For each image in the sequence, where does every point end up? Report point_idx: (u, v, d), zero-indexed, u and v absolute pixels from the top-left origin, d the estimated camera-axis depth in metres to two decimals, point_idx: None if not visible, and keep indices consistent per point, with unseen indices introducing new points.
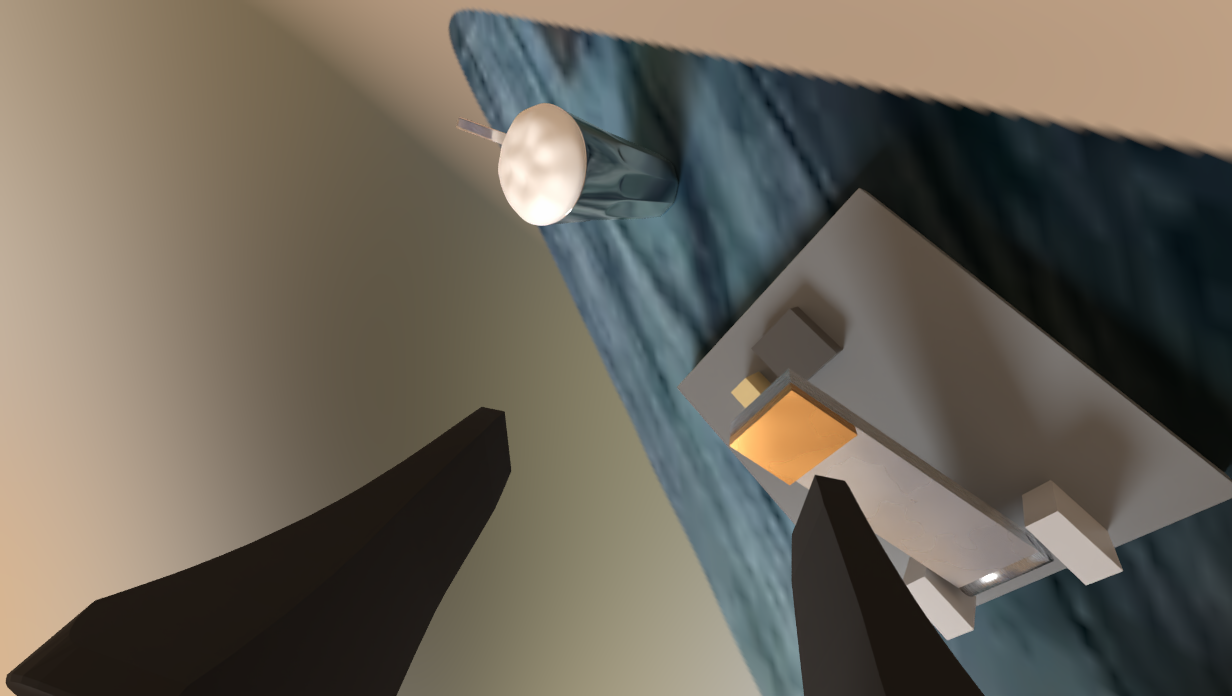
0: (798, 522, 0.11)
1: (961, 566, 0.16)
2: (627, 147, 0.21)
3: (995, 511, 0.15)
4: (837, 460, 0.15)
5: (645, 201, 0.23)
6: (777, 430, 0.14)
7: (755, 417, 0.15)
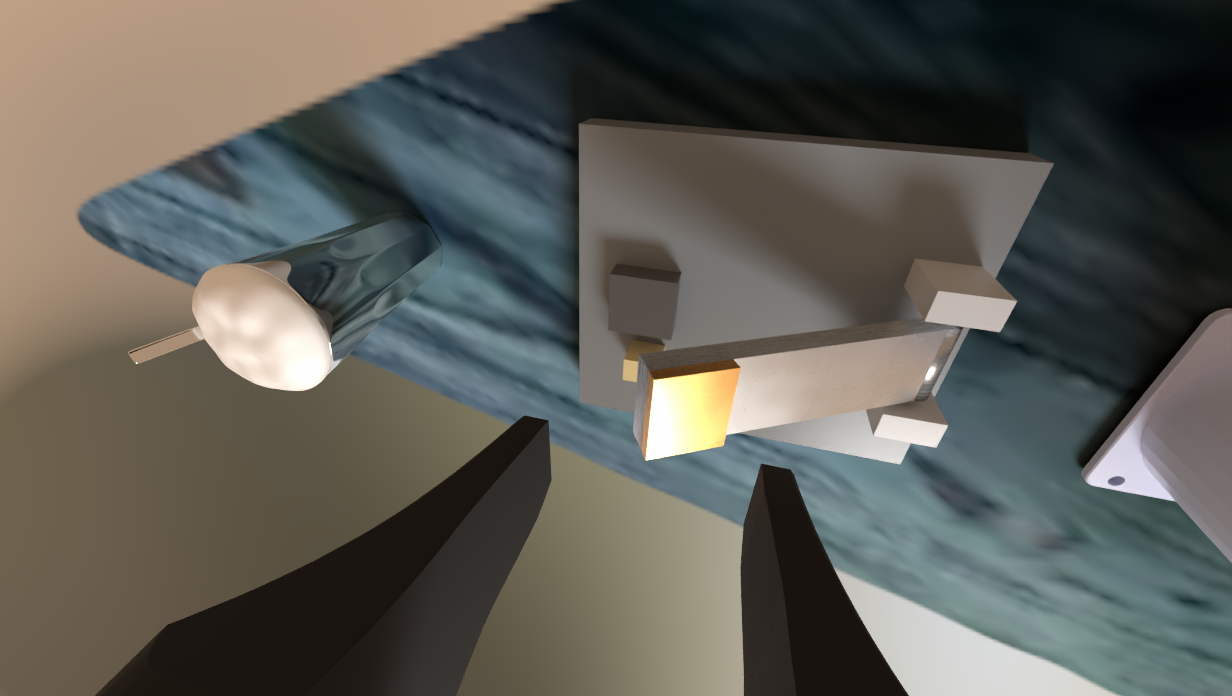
0: (748, 511, 0.11)
1: (903, 385, 0.16)
2: (342, 239, 0.18)
3: (894, 323, 0.15)
4: (743, 393, 0.14)
5: (408, 271, 0.19)
6: (673, 417, 0.13)
7: (645, 420, 0.13)
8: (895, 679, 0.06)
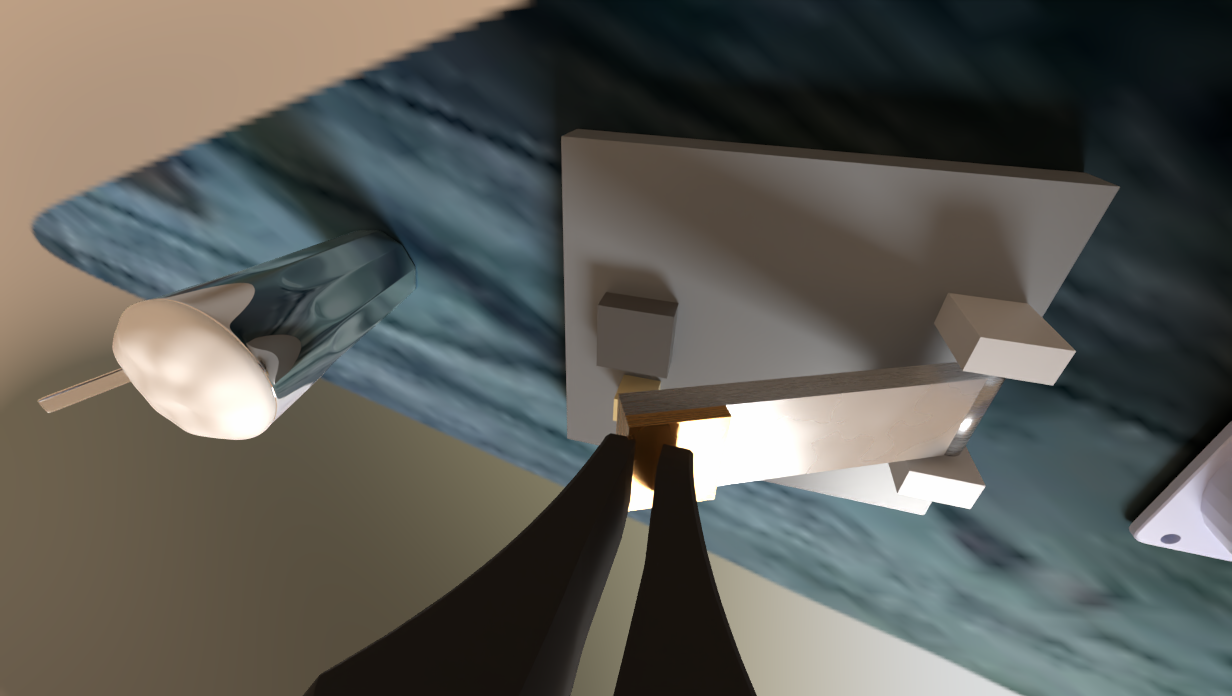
0: None
1: (930, 438, 0.14)
2: (296, 265, 0.16)
3: (922, 368, 0.13)
4: (738, 442, 0.12)
5: (374, 298, 0.17)
6: (653, 467, 0.11)
7: None
8: (726, 634, 0.07)
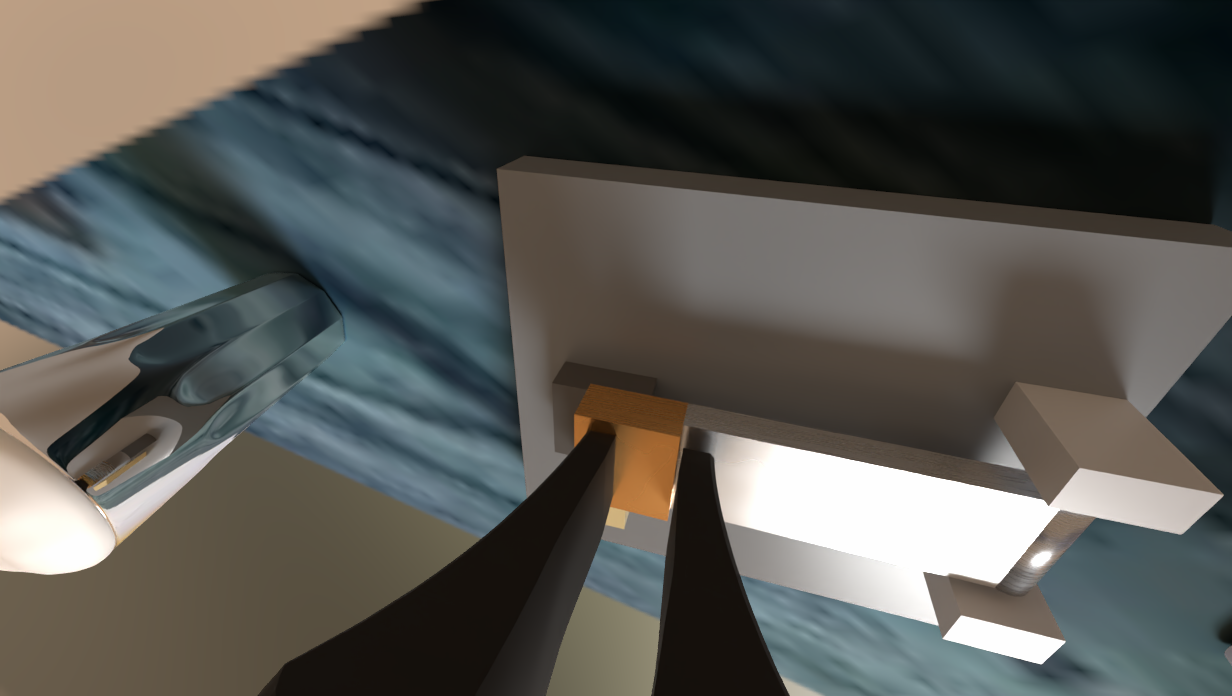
0: None
1: (970, 557, 0.10)
2: (162, 331, 0.12)
3: (969, 462, 0.10)
4: None
5: (278, 363, 0.14)
6: None
7: None
8: (760, 643, 0.06)
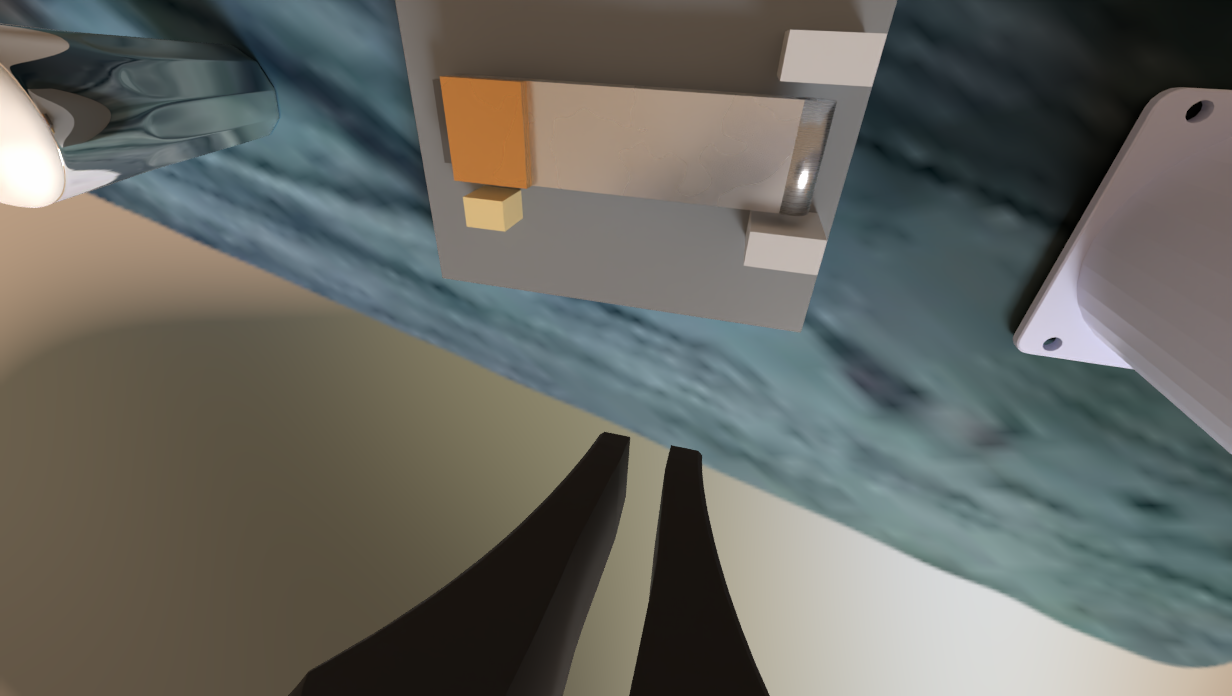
0: None
1: (755, 181, 0.13)
2: (106, 36, 0.14)
3: (747, 93, 0.13)
4: (548, 133, 0.14)
5: (211, 96, 0.16)
6: (467, 131, 0.14)
7: (452, 136, 0.14)
8: (740, 637, 0.06)
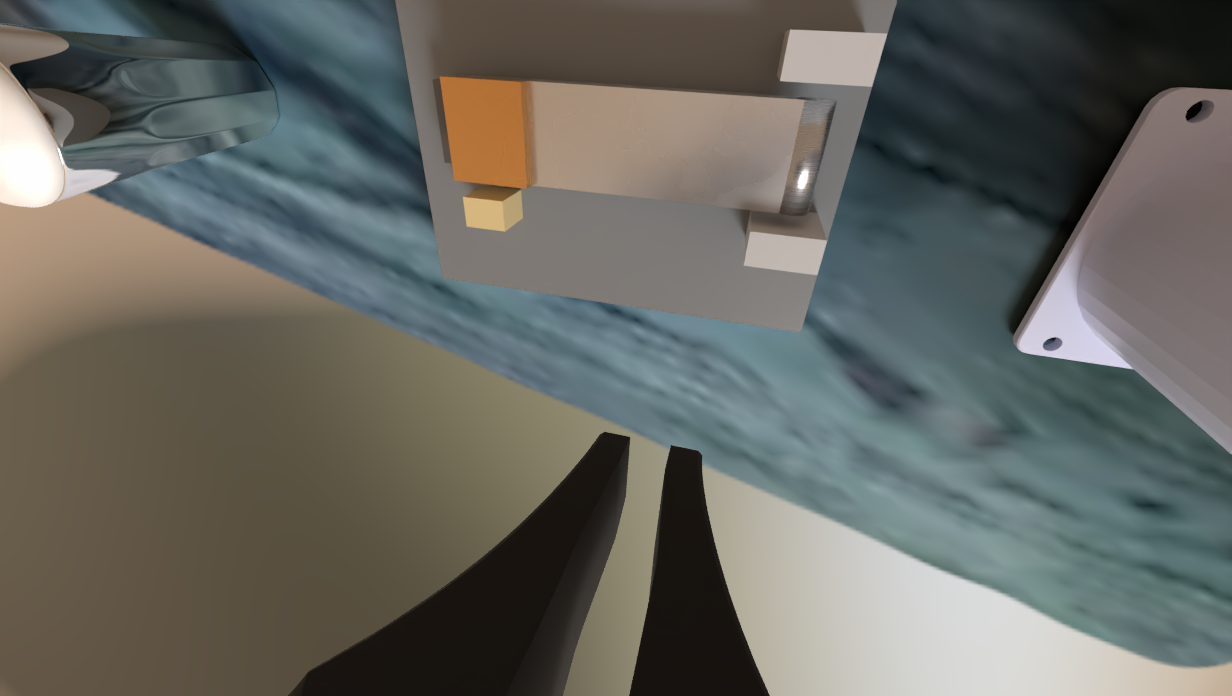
0: None
1: (755, 181, 0.13)
2: (106, 36, 0.14)
3: (747, 93, 0.13)
4: (548, 133, 0.14)
5: (211, 96, 0.16)
6: (467, 131, 0.14)
7: (452, 135, 0.14)
8: (740, 637, 0.06)
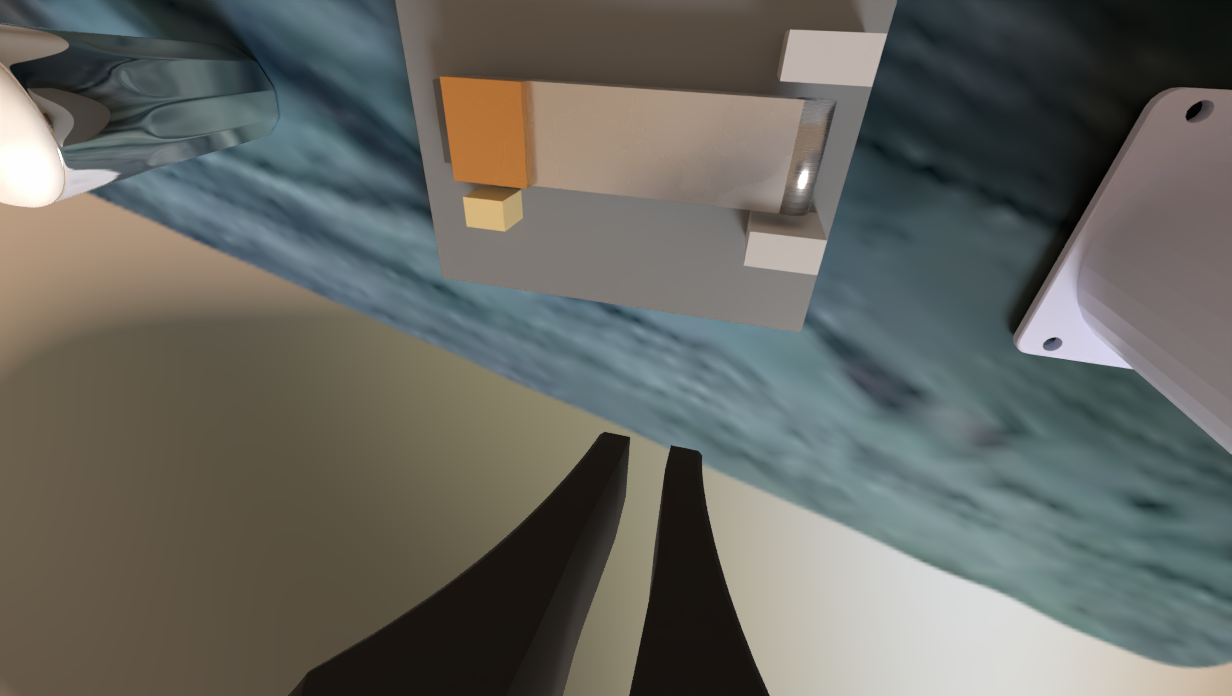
0: None
1: (755, 181, 0.13)
2: (106, 36, 0.14)
3: (747, 93, 0.13)
4: (548, 133, 0.14)
5: (211, 96, 0.16)
6: (467, 131, 0.14)
7: (452, 135, 0.14)
8: (740, 637, 0.06)
